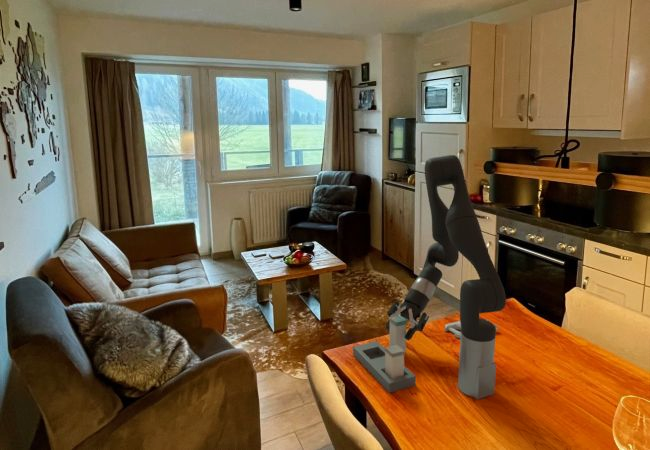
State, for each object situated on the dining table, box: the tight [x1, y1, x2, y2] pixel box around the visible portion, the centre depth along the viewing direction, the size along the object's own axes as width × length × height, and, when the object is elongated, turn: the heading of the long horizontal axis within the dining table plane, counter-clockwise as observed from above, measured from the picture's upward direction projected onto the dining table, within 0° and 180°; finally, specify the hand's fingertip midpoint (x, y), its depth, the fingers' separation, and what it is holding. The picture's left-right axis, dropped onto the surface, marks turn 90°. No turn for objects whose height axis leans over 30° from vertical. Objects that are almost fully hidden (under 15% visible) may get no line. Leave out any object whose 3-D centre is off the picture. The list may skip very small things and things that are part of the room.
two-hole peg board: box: [352, 340, 417, 393], centre depth 135 cm, size 23×9×10 cm, turn 23°
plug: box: [388, 314, 408, 354], centre depth 145 cm, size 4×4×12 cm
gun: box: [444, 319, 499, 340], centre depth 159 cm, size 18×3×10 cm
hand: (396, 334), depth 144 cm, fingers open, 8 cm apart
